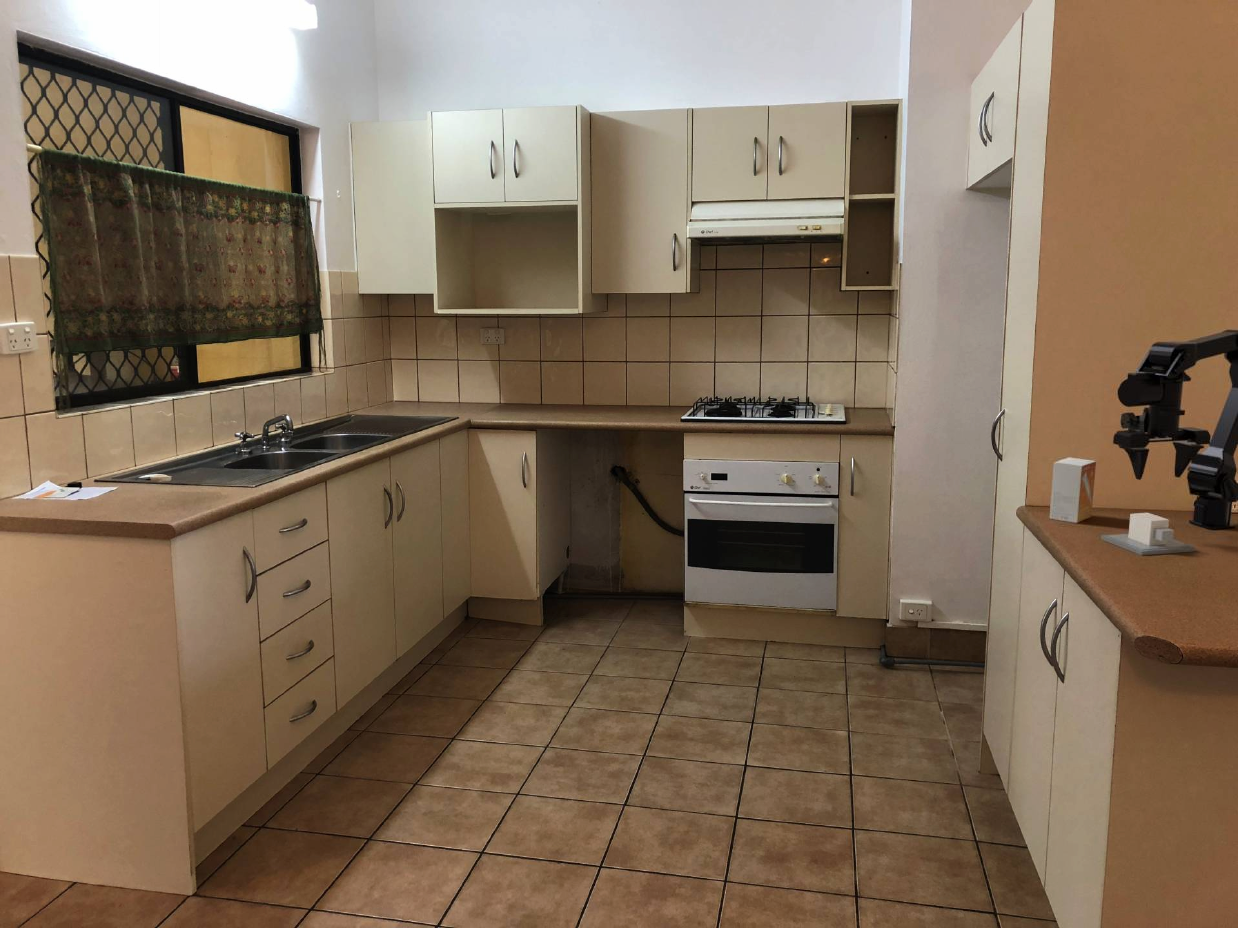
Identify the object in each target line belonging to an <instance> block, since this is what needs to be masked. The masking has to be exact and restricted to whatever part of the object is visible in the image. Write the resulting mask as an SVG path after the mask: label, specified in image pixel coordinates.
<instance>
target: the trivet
mask: <svg viewBox="0 0 1238 928" xmlns="http://www.w3.org/2000/svg"><path fill="white" fill-rule="evenodd" d="M1128 536H1129V533H1119V534H1118V533H1117V534H1105V535H1104V534H1103V535H1100V539H1101V540H1102V541H1105V542H1106V543H1109V544H1112V545H1115V546H1117V547H1120V548H1122V549H1124V550H1126V551H1130V552H1132V553H1135V554H1137V555H1139V556H1150V555H1164V554H1175V553H1176V554H1177V553H1189V552H1190V553H1192V552H1196V547H1195V546H1192V545H1190V544H1187V543H1184V542H1182V541H1179V540H1176V539H1174V538H1173V540H1169V541H1167V544H1161V545H1147V544H1144V543H1142V542H1139V541H1136V540H1134V539H1131V538H1128Z"/></svg>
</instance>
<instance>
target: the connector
mask: <svg viewBox="0 0 1238 928" xmlns="http://www.w3.org/2000/svg"><path fill="white" fill-rule="evenodd" d="M1129 515H1130V516H1129V527H1128V534H1129V536H1128V538H1131V539H1134V540H1136V541H1139V542H1142V543H1144V544H1147V545H1161V544H1167V541H1169V540H1173V539H1174V536H1175V535H1174V534H1175V530H1174V529H1171V528H1169V527H1170V526H1169V523H1170V519H1168V518H1164V517H1162V516H1159V515H1155V514H1152V513H1150V512H1139V513H1130V514H1129Z"/></svg>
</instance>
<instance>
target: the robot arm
mask: <svg viewBox="0 0 1238 928" xmlns="http://www.w3.org/2000/svg"><path fill="white" fill-rule="evenodd" d="M1150 347H1151V348H1150V349H1149V350H1148V352H1147V354H1146V355H1145V356H1144V358H1143V360H1142V361H1141V363H1140V365H1138V367H1137V369H1136V371H1135V372H1128V373H1127V378H1126V379H1124V380H1122V382H1121V383H1120V384H1119V386H1118V388H1117V398H1118V400H1119V402H1120V403H1121V405H1123V406H1125V407H1127V408H1131V407H1143V406H1144V409H1143V410H1142V411H1143V412H1142V414H1141V415H1136V414H1135V413H1134V412H1124V413H1121V414H1120V415H1121V418H1120V421H1119V422H1120V428H1122V429H1123V430H1117V431H1116V432H1115V433H1114V434H1113V440H1112V444H1113V445H1117V447H1118V448H1119V449H1123V450H1124V451H1125V453H1126V454H1127V456H1128V458H1129V460H1130V464H1131V467H1132V470H1133V474H1134V477H1135V479H1136V480H1137V481H1141V480H1142V478H1143V475H1144V474H1145V473H1144V472H1145V468H1146V463H1147V460H1148V458H1149V452H1150V449H1149V448H1147V446H1148V445H1149V444H1150V443H1165V442H1172V445H1173V447H1174V450H1175V459H1174V460H1175V461H1174V477H1175V478H1179V479H1180V478H1181V476H1182V475H1183V474H1184V472H1185V471H1186V470H1187V471H1188V472H1187V475H1186V480H1187V485H1188V490H1189V495H1192V496H1196V502H1195V503H1194V507H1193V517H1192V519H1188V522H1189V523H1190V524H1194V525H1197V526H1200V527H1203V528H1205V529H1209V530H1217V529H1231V528H1236V526H1237V525H1236V524H1233V523H1232V522H1231V517H1232V508H1233V503H1237V502H1238V482H1237V480H1236V479H1235V478H1236V474H1237V471H1238V469H1237V464H1236V462H1235V457H1234V456H1235V452H1236V451H1237V447H1238V329H1226V330H1222V331H1221V332H1217V333H1214V334H1210V335H1207V336H1203V337H1198V338H1194V339H1190V340H1187V341H1157V342H1154V343H1153V344H1152V345H1151V346H1150ZM1223 354H1224V355H1223ZM1220 355H1223V356H1224V359H1225V360H1226V361H1227V362H1228V363H1229V364H1230V365H1229V371H1228V374H1229V378H1230V383H1231V388H1230V389H1229V393H1228V395H1227V398H1226V400H1225V403H1224V406H1223V408H1222V411H1221V413H1220V416H1219V419H1218V421H1217V423H1216V427H1215V428H1214V430H1213V434H1212V436H1211V434H1210V432H1209V430H1207V429H1202V428H1200V427H1199V428H1197V427H1194V426H1193V427H1192V426H1188V427H1187V426H1186V427H1180V417H1181V416H1185V415H1186V410H1185V409H1182V408H1181V407H1182V396H1183V390H1184V389H1183V387H1184V382H1191V380H1192V378H1191V376H1189V375H1188V373H1186V371H1187V370H1189V369H1191V368H1193V367H1195V366H1196V364H1197V363H1198V362H1199V361H1201V360H1204V359H1208V358H1213V357H1216V356H1220ZM1145 406H1146V407H1145ZM1147 406H1148V407H1147ZM1124 429H1125V430H1124ZM1126 429H1127V430H1126ZM1205 445H1208V447H1207V449H1205V450H1204V451H1203V452H1201V453H1200V450H1201V449H1204V448H1205Z"/></svg>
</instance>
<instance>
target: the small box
mask: <svg viewBox="0 0 1238 928" xmlns="http://www.w3.org/2000/svg"><path fill="white" fill-rule="evenodd" d="M1096 467H1097V460H1091V459H1084V458H1077V457H1076V458H1075V457H1070V456H1068V457H1066V458H1064V459H1060V460H1057V461H1054V462H1053V468H1052V469H1053V471H1052V483H1051V484H1052V485H1051V495H1050V496H1051V497H1050V508H1049V510H1050V511H1049V519H1051V520H1055V521H1062V522H1067V523H1074V524H1078V523H1080V522H1082V521H1084V520H1086V519H1089V518H1091V517H1092V513H1093V512H1092V511H1093V501H1094V500H1093V499H1094V488H1095V478H1096Z"/></svg>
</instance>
